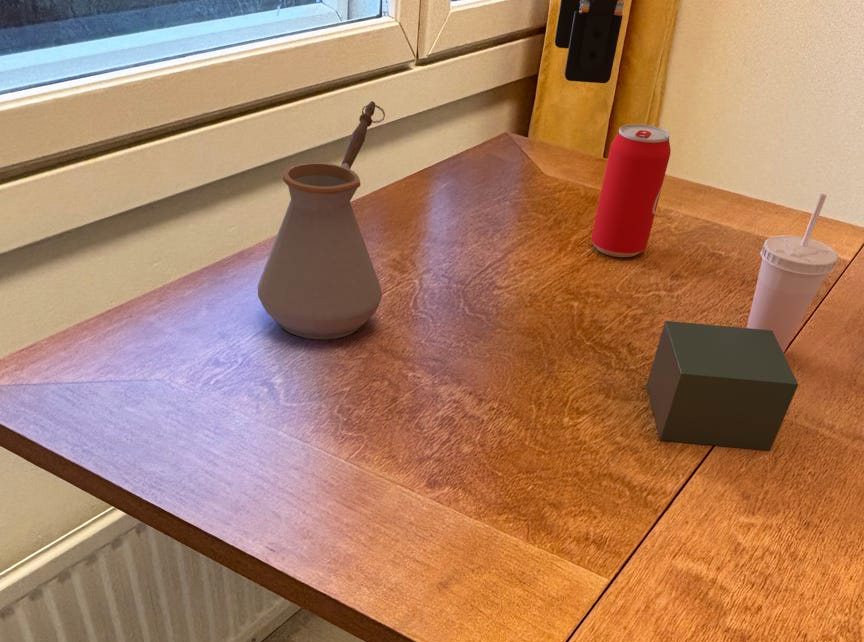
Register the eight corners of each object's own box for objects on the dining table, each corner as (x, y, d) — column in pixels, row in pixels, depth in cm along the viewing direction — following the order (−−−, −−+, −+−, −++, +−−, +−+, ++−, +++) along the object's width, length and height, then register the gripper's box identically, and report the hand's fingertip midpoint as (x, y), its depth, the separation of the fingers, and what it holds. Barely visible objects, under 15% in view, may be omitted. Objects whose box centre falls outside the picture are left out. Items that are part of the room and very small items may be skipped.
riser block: (747, 394, 79) (772, 330, 75) (770, 450, 72) (798, 384, 68) (646, 385, 79) (665, 320, 75) (659, 440, 73) (681, 373, 68)
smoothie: (804, 349, 85) (869, 196, 76) (785, 375, 82) (850, 217, 72) (740, 329, 88) (794, 177, 78) (718, 353, 84) (772, 197, 74)
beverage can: (650, 246, 102) (681, 129, 93) (637, 265, 98) (668, 145, 89) (597, 234, 103) (622, 118, 95) (582, 252, 99) (607, 133, 91)
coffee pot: (359, 359, 79) (366, 179, 69) (239, 336, 81) (228, 157, 70) (420, 268, 94) (433, 108, 83) (317, 249, 96) (317, 90, 85)
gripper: (728, -257, 48) (646, 99, 61) (675, -257, 61) (616, 40, 73) (590, -267, 48) (536, 91, 61) (565, -265, 61) (524, 33, 73)
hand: (579, 63), depth 67 cm, fingers open, 9 cm apart
